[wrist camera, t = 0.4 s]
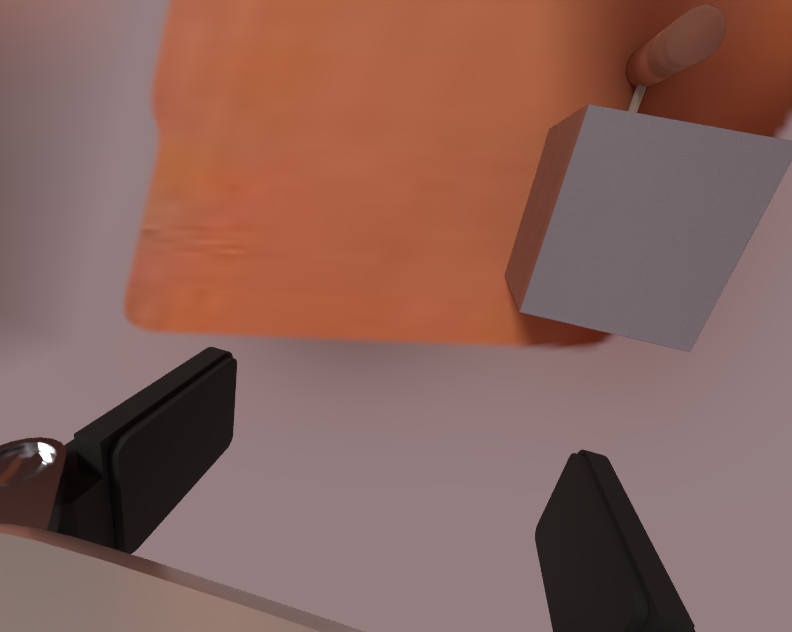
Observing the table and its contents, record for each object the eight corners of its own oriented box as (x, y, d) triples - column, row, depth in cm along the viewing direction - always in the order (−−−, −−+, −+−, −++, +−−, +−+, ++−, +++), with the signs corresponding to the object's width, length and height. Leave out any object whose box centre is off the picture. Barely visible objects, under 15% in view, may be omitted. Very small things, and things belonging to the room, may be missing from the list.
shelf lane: (549, 128, 32) (588, 104, 22) (690, 155, 31) (801, 142, 21) (504, 275, 37) (519, 312, 27) (625, 303, 36) (689, 352, 26)
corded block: (615, 37, 29) (658, -3, 23) (695, 50, 29) (762, 12, 22) (540, 260, 36) (557, 278, 30) (604, 274, 35) (636, 295, 29)
